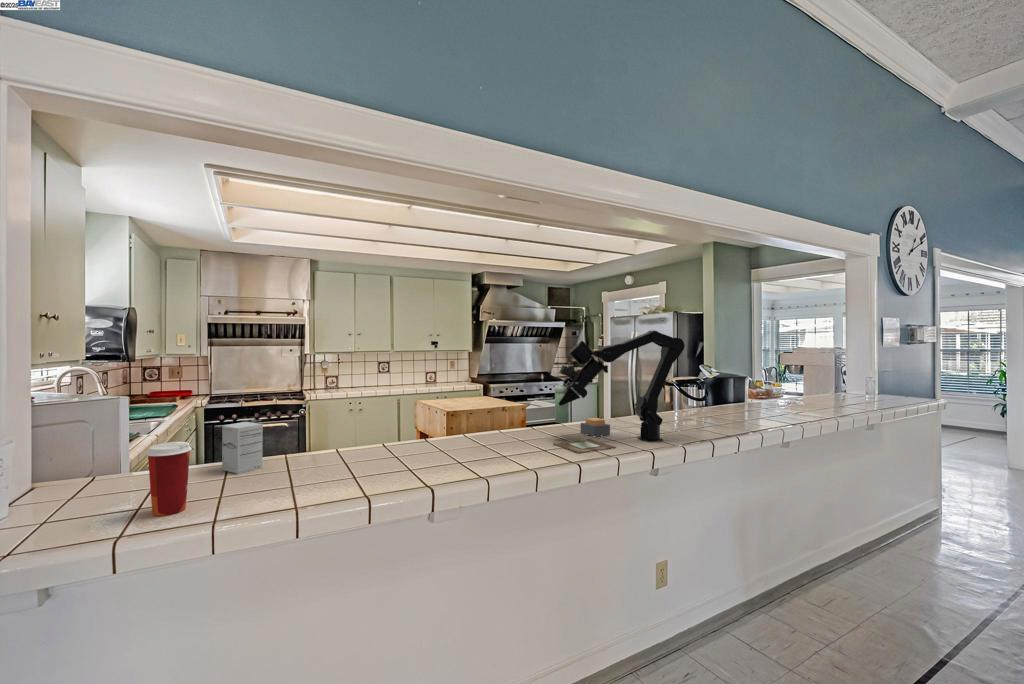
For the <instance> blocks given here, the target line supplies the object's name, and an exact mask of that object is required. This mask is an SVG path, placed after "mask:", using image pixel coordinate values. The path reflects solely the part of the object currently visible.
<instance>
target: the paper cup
mask: <svg viewBox="0 0 1024 684" xmlns="http://www.w3.org/2000/svg"><path fill="white" fill-rule="evenodd" d="M192 449H193V448H192V447H191V446H190V443H189V442H187V441H171V442H170V441H169V442H163V443H162V442H161V443H158V444H154V445H150V447H149V448H148V451H147V452H146V453H145V455H146V456H147V458H148V473H149V488H150V499H151V500H150V501H151V511H152V515H153V516H155V517H166V516H167V517H168V516H172V515H177V514H179V513H182V512H184V511H185V510H186V508H187V498H188V497H187V496H188V485H189V484H188V483H189V471H190V469H189V467H190V455H191V453H190V452H191V451H192Z"/></svg>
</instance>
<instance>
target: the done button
mask: <svg viewBox="0 0 1024 684" xmlns="http://www.w3.org/2000/svg"><path fill="white" fill-rule="evenodd" d="M585 422H586V424H589V425H593V426H597V425H605V424H606V420H605V418H604V419H603V418H599V417H591V418H585Z"/></svg>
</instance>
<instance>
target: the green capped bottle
mask: <svg viewBox="0 0 1024 684" xmlns="http://www.w3.org/2000/svg"><path fill="white" fill-rule="evenodd" d="M566 392H567V386H566V385H563V384H561V385H557V384H556V385H554V423H556V424H557V423H558V424H567V423H569V422H570V417H569V416H570V414H569V413H570V410H569V409H570V407H569V406H570V402H569V403H566V404H564V405H561V406H560V405H559V402H560V400H561V399H562V398H563V396H564V395H565V393H566Z"/></svg>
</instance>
